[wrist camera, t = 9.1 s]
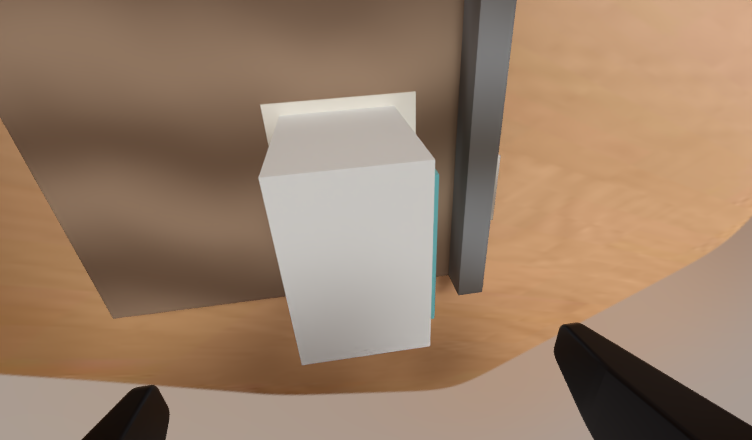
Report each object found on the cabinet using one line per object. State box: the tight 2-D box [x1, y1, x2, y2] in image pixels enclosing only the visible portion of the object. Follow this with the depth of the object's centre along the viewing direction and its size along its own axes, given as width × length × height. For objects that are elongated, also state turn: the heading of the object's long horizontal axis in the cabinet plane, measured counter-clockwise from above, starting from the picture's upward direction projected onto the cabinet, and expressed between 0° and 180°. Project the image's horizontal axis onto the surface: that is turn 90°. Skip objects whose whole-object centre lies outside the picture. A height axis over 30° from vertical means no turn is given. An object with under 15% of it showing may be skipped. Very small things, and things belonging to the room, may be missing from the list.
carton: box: [258, 106, 439, 365], centre depth 14 cm, size 5×7×6 cm
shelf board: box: [0, 0, 517, 319], centre depth 15 cm, size 16×18×3 cm
